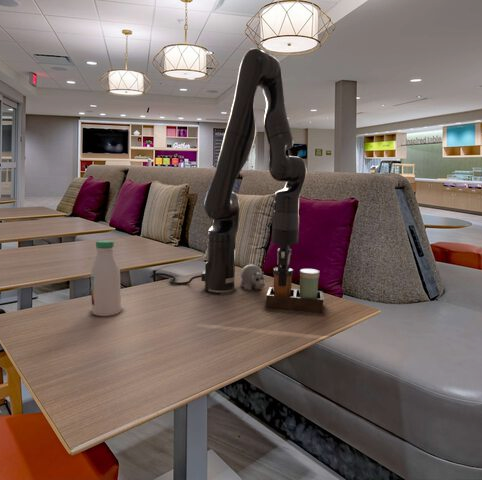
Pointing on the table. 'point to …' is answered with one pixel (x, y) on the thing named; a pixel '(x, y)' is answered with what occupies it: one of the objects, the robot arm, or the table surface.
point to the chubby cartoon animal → (252, 277)
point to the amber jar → (282, 289)
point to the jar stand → (294, 302)
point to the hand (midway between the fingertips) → (283, 282)
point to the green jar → (309, 283)
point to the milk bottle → (105, 281)
